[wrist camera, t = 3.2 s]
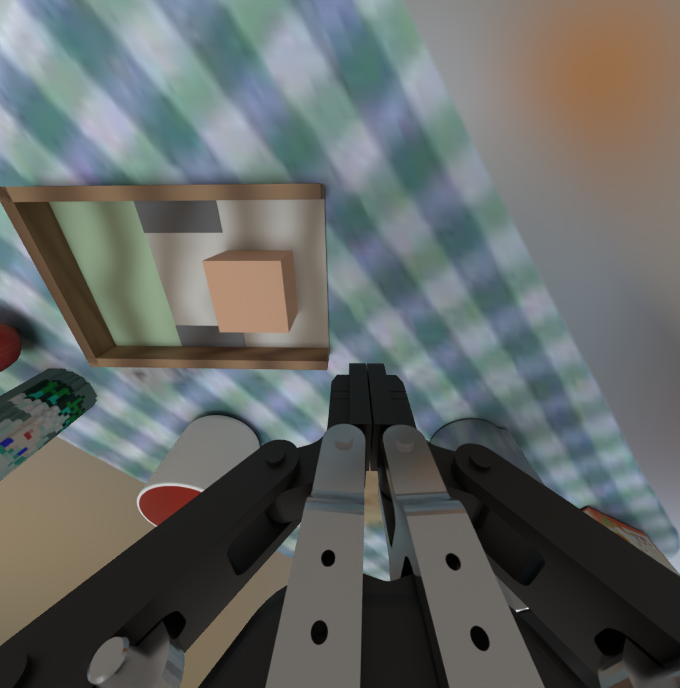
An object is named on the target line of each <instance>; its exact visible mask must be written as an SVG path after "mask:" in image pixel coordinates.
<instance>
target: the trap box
mask: <svg viewBox="0 0 680 688" xmlns="http://www.w3.org/2000/svg"><path fill="white" fill-rule="evenodd" d="M0 202H1V204H2V206H3V207H4V209H5V211H6V213H7V215H8V217H9V218H10V220H11V222H12V224H13V226H14V227H15V229H16V231H17V233H18V235H19V237H20V238H21V240H22V242H23V244H24V246H25V248H26V249H27V251H28V253H29V255H30V257H31V259H32V260H33V262H34V264H35V266H36V268H37V269H38V271H39V273H40V275H41V277H42V279H43V280H44V282H45V284H46V286H47V288H48V290H49V291H50V293H51V295H52V297H53V299H54V301H55V302H56V304H57V306H58V308H59V310H60V311H61V313H62V315H63V317H64V319H65V321H66V322H67V324H68V326H69V328H70V330H71V332H72V333H73V335H74V337H75V339H76V341H77V343H78V344H79V346H80V348H81V350H82V352H83V353H84V355H85V357H86V359H87V361H88V363H89V364H90V366H91V367H152V368H222V369H292V370H327V368H328V361H329V325H328V294H327V262H326V230H325V198H324V185H323V184H320V183H315V184H223V185H131V186H39V187H0ZM233 250H292V252H293V263H294V274H295V285H296V296H297V307H298V314H297V316H296V318H295V321H294V323H293V325H292V327H291V329H290V331H289V333H245V332H220V331H219V327H218V323H217V319H216V315H215V311H214V307H213V303H212V299H211V295H210V291H209V287H208V283H207V279H206V275H205V271H204V267H203V263H202V261H203V260H205V259H208V258H210V257H212V256H215V255H217V254H219V253H222V252H224V251H233Z"/></svg>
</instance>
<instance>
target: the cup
mask: <svg viewBox="0 0 680 688" xmlns="http://www.w3.org/2000/svg"><path fill="white" fill-rule="evenodd" d="M259 448H260V445H259V441H258V439H257V437H256V435H255V434H254V432H253V431H252V430H251V429H250V428H249V427H248V426H247V425H245V424H244V423H242V422H241V421H239V420H236V419H234V418H231V417H227V416H221V415H211V416H205V417H201V418H199V419H197V420H195V421H193V422H192V423H191V424H189V425H188V426H187V428H186V429H185V430H184V432H183V433H182V435H181V436H180V437H179V439H178V440H177V442H176V443H175V444H174V446H173V447H172V448H171V450H170V451H169V453H168V454H167V455H166V457H165V458H164V460H163V461H162V462H161V464H160V465H159V467H158V468H157V469H156V471H155V472H154V474H153V475H152V476H151V478H150V479H149V480H148V482H147V483H146V485H145V486H144V487H143V489H142V490H141V492H140V493H139V495H138V497H137V505H138V509H139V511H140V512H141V514H142V515H143V516H144V517H145V518H146V519H147V520H148V521H149V522H150V523H152V524H153V525H155V526H156V527H157V526H158V525H159V524H161V523H162V522H163V521H165V520H166V519H167V518H168V517H170V516H171V515H172V514H174V513H175V512H176V511H178V510H179V509H180V508H182V507H183V506H184V505H185V504H187V503H188V502H189V501H191V500H192V499H193V498H195V497H196V496H197V495H199V494H200V493H201V492H202V491H204V490H205V489H206V488H208V487H209V486H210V485H212V484H213V483H214V482H216V481H217V480H218V479H220V478H221V477H222V476H223V475H225V474H226V473H227V472H229V471H230V470H231V469H233V468H234V467H235V466H237V465H238V464H239V463H240V462H242V461H243V460H244V459H246V458H247V457H248V456H250V455H251V454H252V453H254V452H255V451H256V450H257V449H259Z"/></svg>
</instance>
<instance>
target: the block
mask: <svg viewBox="0 0 680 688" xmlns="http://www.w3.org/2000/svg"><path fill="white" fill-rule="evenodd" d="M202 263H203V267H204V271H205V275H206V279H207V283H208V287H209V291H210V295H211V299H212V303H213V307H214V311H215V315H216V319H217V323H218V327H219V331H220V332H245V333H289V331H290V329H291V327H292V325H293V323H294V321H295V318H296V316H297V314H298V307H297V296H296V285H295V274H294V263H293V252H292V250H233V251H224V252H222V253H219V254H217V255H215V256H212V257H210V258H208V259H205V260H203V261H202Z"/></svg>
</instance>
